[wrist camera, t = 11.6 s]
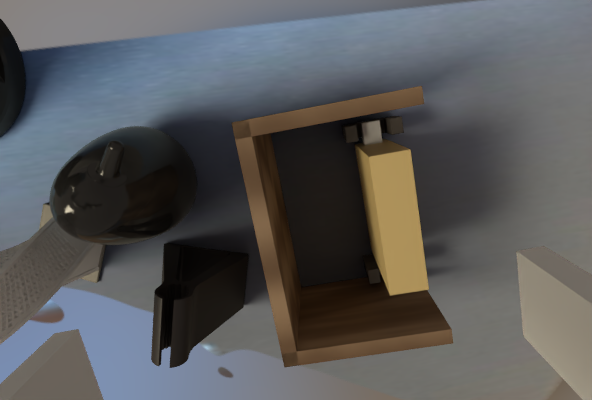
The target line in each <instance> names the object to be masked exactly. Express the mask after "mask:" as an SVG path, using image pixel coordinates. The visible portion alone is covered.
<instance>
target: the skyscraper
mask: <svg viewBox="0 0 592 400" xmlns="http://www.w3.org/2000/svg"><path fill="white" fill-rule="evenodd" d="M105 247H106V245H100V244H93V243H88V242H85V241H82V240H79V239H77V238H74V237H72V236H71V235H69V234H68V233H66V232H65V231H64V230H62V229H61V228H60V227H59V225H58V224H57V223H56V221H55V220H54V218H53V216H52V213H51V210H50V204H47V203H45V204H43V210H42V216H41V222H40V228H39V231H38V232H37V233H35V234H34V235H33V236H32V237H31V238H30V239H29V240H27V241H25V242H23V243H21V244H19V245H17V246H14V247H12V248H9V249H6V250H3V251H0V344H1V343H2V342H4V341H5V340H6V339H7V338H8V337H10V336H11V335H12V334H14V333H15V332H16V331H17V330H18V329H19V328H20V327H21V326H23V325H24V324H25V323H26V322H27V321H28V320H29V319H30V318H31V317H32V316H33V315H35V314H36V313H37V312H38V311H39V310H40V309H41V308H42V307H43V306H44V305H45V304H46V303H47V302H48V301H49V299H50V298H51V297H52V296H53V295H54V294H55V293H56V292H57V291H58V290H59V289H60V288H61V287H62V286H63V285H66V284H68V283H70V282H73V281H75V280H77V279H79V278H81V279H84V280H88V281H91V282H95V283H97V282H98V281H99V276H100V271H101V266H102V262H103V257H104V252H105Z"/></svg>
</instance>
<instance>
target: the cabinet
mask: <svg viewBox="0 0 592 400" xmlns="http://www.w3.org/2000/svg"><path fill="white" fill-rule="evenodd" d="M421 104H424V99H423V91H422V86H419V87H413V88H408V89H403V90H398V91H393V92H388V93H382V94H377V95H372V96H367V97H362V98H357V99H351V100H346V101H341V102H336V103H331V104H326V105H320V106H315V107H310V108H305V109H300V110H294V111H289V112H284V113H279V114H274V115H269V116H263V117H258V118H253V119H248V120H243V121H238V122H232V128H233V132H234V137H235V141H236V146H237V151H238V155H239V160H240V164H241V169H242V174H243V178H244V183H245V187H246V192H247V197H248V201H249V206H250V210H251V215H252V220H253V224H254V229H255V233H256V238H257V243H258V247H259V252H260V256H261V261H262V266H263V270H264V275H265V279H266V284H267V289H268V293H269V298H270V302H271V307H272V312H273V316H274V321H275V325H276V330H277V335H278V339H279V344H280V348H281V353H282V358H283V362H284V367H290V366H297V365H304V364H311V363H318V362H325V361H332V360H339V359H346V358H353V357H360V356H367V355H374V354H381V353H388V352H395V351H402V350H409V349H416V348H423V347H430V346H437V345H444V344H451V343H453V338H452V329H451V328H450V326H449V324H448V323H447V321H446V320H445V318H444V316H443V315H442V313H441V312H440V310H439V308H438V307H437V305H436V304H435V302H434V300H433V299H432V297H431V296H430V294H429V292H428V291H427V290H423V291H416V292H410V293H403V294H397V295H390V294H389V292H388V289H387V287H386V284H385V282H384V279H383V277H382V275H379V267H378V265H377V262H376V260H375V257H374V255H373V254H371V255H365V256H363V259H364V265H365V270H366V273H367V276H368V277H364V278H357V279H351V280H345V281H338V282H332V283H326V284H320V285H313V286H307V287H301V284H300V279H299V274H298V269H297V264H296V259H295V254H294V249H293V244H292V239H291V234H290V229H289V224H288V218H287V213H286V208H285V203H284V198H283V193H282V188H281V183H280V178H279V173H278V168H277V163H276V158H275V153H274V148H273V143H272V138H271V133H273V132H279V131H284V130H289V129H294V128H300V127H305V126H310V125H315V124H321V123H326V122H331V121H337V120H342V119H347V118H352V117H358V116H363V115H368V114H373V113H379V112H384V111H389V110H395V109H400V108H405V107H410V106H416V105H421ZM374 120H379V122H380V129H381V133H389V134H392V135H393V134H399V133H404V131H403V123H402V117H400V116H390V117H385V118H379V119H374ZM374 120H369V121H374ZM363 122H368V121H363ZM363 122H358V123H353V124H347V125H342V130H343V136H344V140H345V141H346V142H347V143H350V142H356V141H358V138H360V137H362V134H361V127H360V123H363Z"/></svg>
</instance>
